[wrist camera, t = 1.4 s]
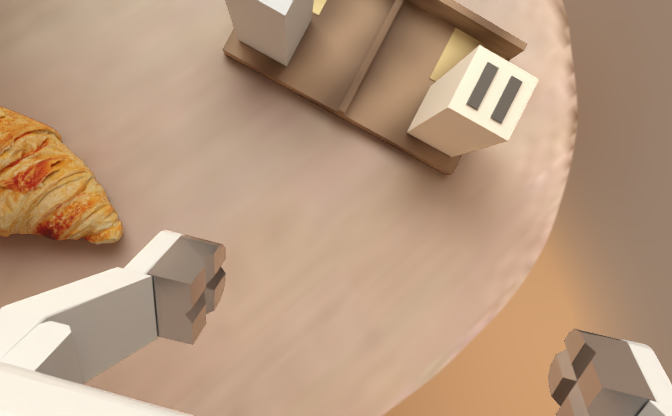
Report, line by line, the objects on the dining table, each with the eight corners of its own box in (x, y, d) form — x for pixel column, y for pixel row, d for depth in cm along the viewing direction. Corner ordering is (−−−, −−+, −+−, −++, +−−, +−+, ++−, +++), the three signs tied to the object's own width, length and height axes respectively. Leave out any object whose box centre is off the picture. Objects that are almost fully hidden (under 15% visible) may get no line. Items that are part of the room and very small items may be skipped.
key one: (237, 39, 36) (217, -24, 26) (264, -10, 37) (254, -91, 26) (286, 66, 37) (285, 14, 27) (312, 17, 37) (320, -52, 27)
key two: (406, 132, 38) (448, 106, 28) (431, 84, 38) (481, 41, 28) (451, 157, 38) (509, 140, 28) (475, 109, 39) (541, 76, 28)
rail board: (224, 54, 38) (217, 38, 34) (290, -68, 38) (290, -96, 35) (446, 175, 40) (462, 172, 36) (506, 58, 40) (527, 44, 37)
